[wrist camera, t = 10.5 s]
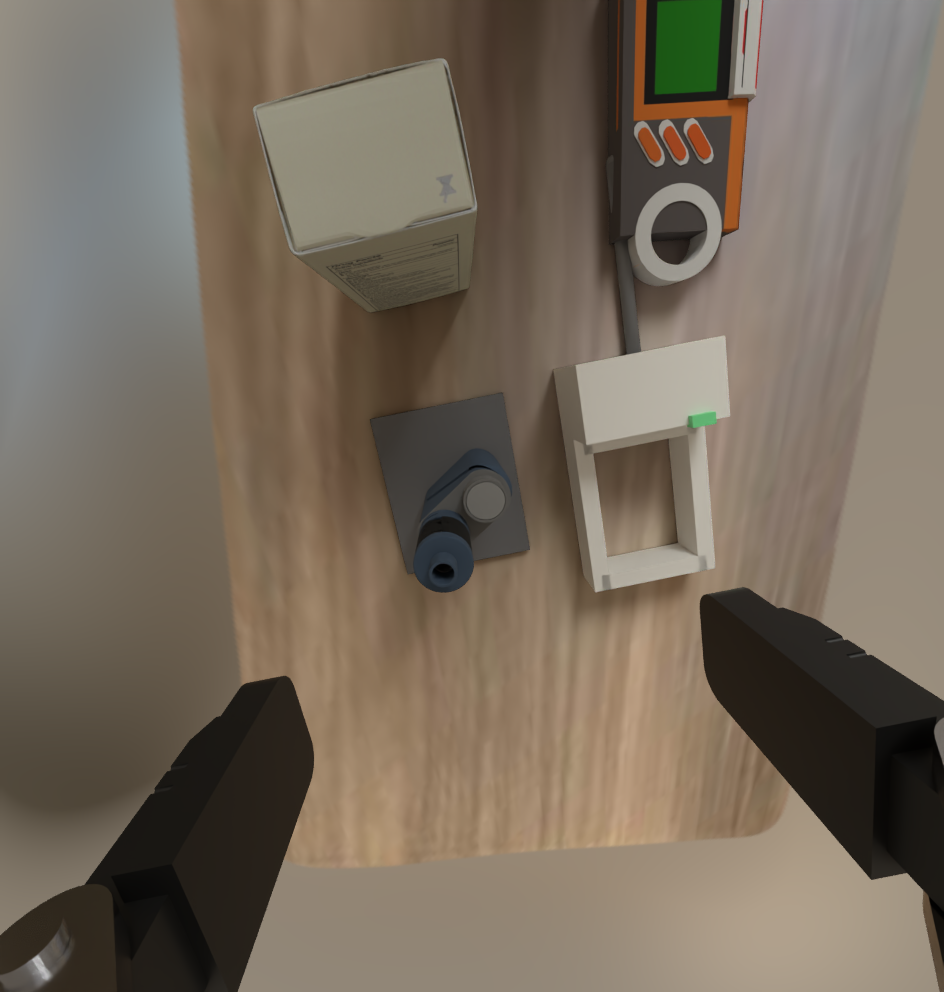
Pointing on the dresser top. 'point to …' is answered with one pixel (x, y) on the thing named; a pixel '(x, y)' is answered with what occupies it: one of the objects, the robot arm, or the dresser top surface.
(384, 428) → the mat
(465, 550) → the vaping device
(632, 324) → the dock
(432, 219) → the skincare box
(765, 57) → the dresser top surface
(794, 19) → the dresser top surface
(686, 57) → the electronic device
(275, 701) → the robot arm
